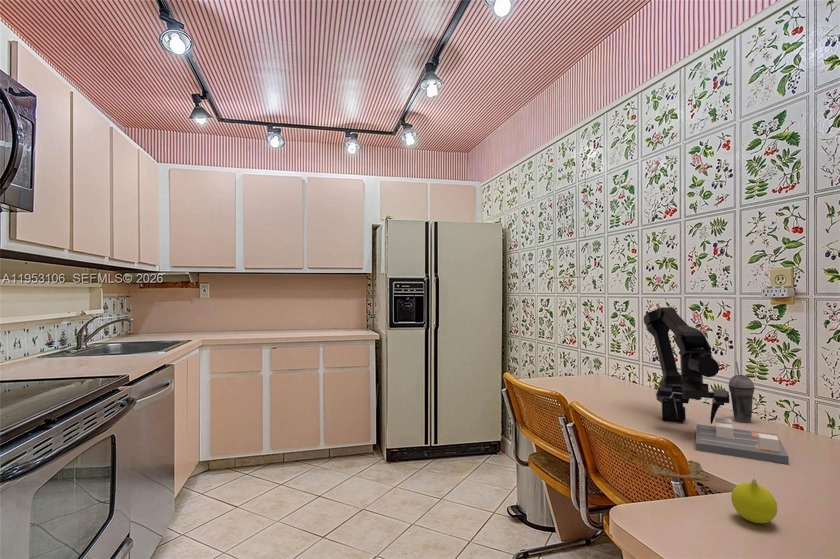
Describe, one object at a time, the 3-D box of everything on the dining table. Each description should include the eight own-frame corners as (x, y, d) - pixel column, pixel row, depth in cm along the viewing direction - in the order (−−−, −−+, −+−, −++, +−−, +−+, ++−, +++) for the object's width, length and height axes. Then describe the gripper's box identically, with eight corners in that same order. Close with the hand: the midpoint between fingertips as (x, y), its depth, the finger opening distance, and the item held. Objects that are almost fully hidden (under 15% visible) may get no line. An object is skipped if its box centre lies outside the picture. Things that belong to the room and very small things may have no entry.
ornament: (753, 532, 80) (751, 477, 80) (723, 513, 87) (721, 463, 87) (788, 529, 81) (786, 475, 81) (755, 510, 88) (753, 461, 88)
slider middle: (716, 436, 125) (716, 426, 125) (716, 432, 129) (715, 422, 129) (733, 438, 123) (733, 428, 123) (732, 434, 126) (732, 424, 127)
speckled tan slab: (646, 458, 117) (646, 455, 117) (699, 464, 113) (698, 460, 113) (652, 476, 106) (652, 472, 106) (710, 483, 101) (710, 479, 101)
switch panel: (695, 450, 121) (695, 442, 121) (696, 430, 138) (696, 423, 138) (788, 464, 110) (788, 455, 110) (777, 441, 127) (777, 433, 127)
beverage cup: (761, 424, 142) (758, 363, 143) (736, 423, 144) (733, 363, 145) (749, 418, 150) (746, 360, 150) (725, 417, 151) (723, 360, 152)
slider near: (760, 448, 115) (759, 437, 115) (758, 444, 118) (757, 433, 118) (779, 451, 113) (778, 440, 113) (777, 447, 116) (776, 435, 116)
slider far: (715, 430, 130) (715, 420, 130) (715, 427, 134) (715, 417, 134) (732, 432, 128) (731, 422, 128) (731, 429, 131) (731, 419, 132)
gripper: (655, 372, 134) (657, 423, 134) (729, 378, 124) (731, 433, 123) (658, 367, 143) (660, 414, 143) (727, 372, 133) (729, 423, 132)
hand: (693, 421), depth 135 cm, fingers open, 9 cm apart
